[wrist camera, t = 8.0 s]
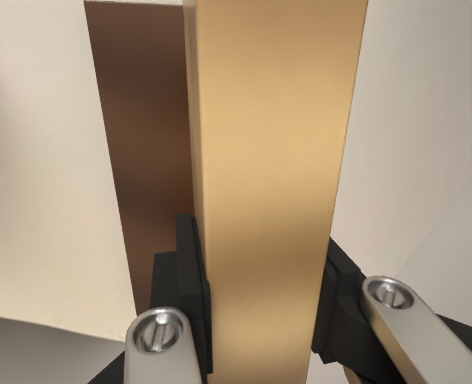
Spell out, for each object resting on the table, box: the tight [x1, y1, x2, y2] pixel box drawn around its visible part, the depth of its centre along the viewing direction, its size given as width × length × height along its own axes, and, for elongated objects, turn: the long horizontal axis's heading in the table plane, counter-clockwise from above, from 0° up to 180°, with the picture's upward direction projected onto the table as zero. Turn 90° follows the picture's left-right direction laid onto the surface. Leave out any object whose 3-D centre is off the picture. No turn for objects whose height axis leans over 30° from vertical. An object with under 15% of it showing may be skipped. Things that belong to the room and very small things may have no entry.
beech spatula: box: [183, 0, 368, 384], centre depth 11 cm, size 22×7×4 cm, turn 179°
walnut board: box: [84, 0, 195, 317], centre depth 22 cm, size 24×12×2 cm, turn 179°
